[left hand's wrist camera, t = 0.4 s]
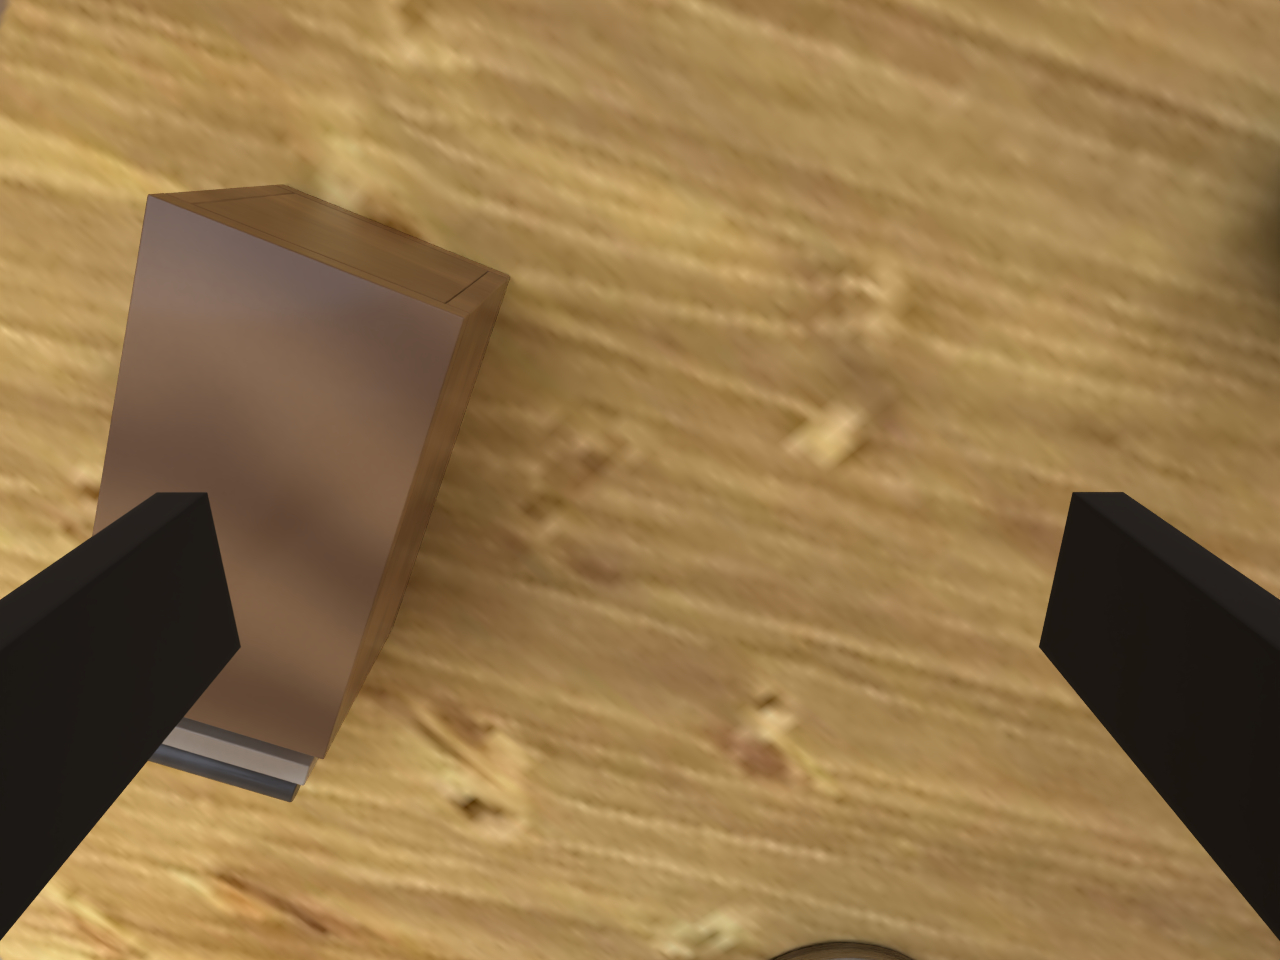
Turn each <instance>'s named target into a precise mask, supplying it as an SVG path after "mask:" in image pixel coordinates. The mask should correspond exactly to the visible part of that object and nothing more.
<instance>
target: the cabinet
mask: <svg viewBox="0 0 1280 960" xmlns="http://www.w3.org/2000/svg"><path fill="white" fill-rule="evenodd" d="M509 279H510V276H509V275H507V274H504V273H502V272H499V271H497V270H494V269H492V268H489V267H487V266H484V265H482V264H479V263H477V262H474V261H472V260H469V259H467V258H465V257H462V256H460V255H457V254H455V253H452V252H450V251H447V250H445V249H442V248H440V247H437V246H435V245H432V244H430V243H427V242H425V241H422V240H420V239H417V238H415V237H412V236H410V235H407V234H405V233H402V232H400V231H397V230H395V229H392V228H390V227H388V226H385V225H383V224H380V223H378V222H375V221H373V220H370V219H368V218H365V217H363V216H360V215H358V214H355V213H353V212H350V211H348V210H345V209H343V208H340V207H338V206H335V205H333V204H330V203H328V202H325V201H323V200H320V199H318V198H315V197H313V196H311V195H308V194H306V193H303V192H301V191H298V190H296V189H293V188H291V187H288V186H286V185H269V186H256V187H243V188H230V189H217V190H204V191H191V192H178V193H165V194H164V193H161V194H149V195H148V197H147V203H146V209H145V215H144V222H143V228H142V234H141V240H140V246H139V252H138V259H137V265H136V271H135V277H134V283H133V289H132V295H131V302H130V308H129V314H128V320H127V326H126V332H125V339H124V345H123V351H122V357H121V363H120V369H119V375H118V382H117V388H116V394H115V400H114V406H113V412H112V419H111V425H110V431H109V437H108V443H107V449H106V455H105V462H104V468H103V474H102V480H101V486H100V492H99V498H98V505H97V511H96V517H95V523H94V529H93V535H92V536H94V535H95V534H97V533H98V532H100V531H101V530H103V529H104V528H106V527H107V526H108V525H110V524H111V523H113V522H114V521H116V520H117V519H119V518H120V517H122V516H123V515H124V514H126V513H127V512H129V511H130V510H132V509H133V508H135V507H136V506H138V505H139V504H140V503H142V502H143V501H145V500H146V499H148V498H149V497H151V496H152V495H154V494H155V493H156V492H207V493H208V498H209V502H210V507H211V512H212V516H213V521H214V525H215V530H216V534H217V539H218V544H219V548H220V553H221V557H222V562H223V567H224V571H225V576H226V580H227V585H228V590H229V594H230V599H231V603H232V608H233V612H234V617H235V622H236V626H237V631H238V635H239V640H240V645H241V648H240V649H239V650H238V651H237V652H236V654H235V655H234V656H233V657H232V659H231V660H230V661H229V662H228V663H227V665H226V666H225V667H224V668H223V670H222V671H221V672H220V673H219V674H218V676H217V677H216V678H215V679H214V680H213V682H212V683H211V684H210V685H209V687H208V688H207V689H206V690H205V691H204V693H203V694H202V695H201V696H200V698H199V699H198V700H197V701H196V702H195V704H194V705H193V706H192V707H191V709H190V710H189V711H188V712H187V713H186V715H185V716H184V717H185V718H188V719H192V720H195V721H198V722H202V723H205V724H208V725H212V726H215V727H218V728H221V729H225V730H228V731H231V732H235V733H238V734H241V735H245V736H248V737H251V738H254V739H258V740H261V741H264V742H268V743H271V744H274V745H278V746H281V747H284V748H287V749H291V750H294V751H297V752H301V753H304V754H307V755H311V756H314V757H317V758H320V759H324V757H325V756H326V754H327V752H328V750H329V748H330V746H331V743H332V742H333V740H334V738H335V736H336V734H337V732H338V731H339V729H340V727H341V725H342V723H343V721H344V719H345V717H346V715H347V713H348V712H349V710H350V708H351V706H352V704H353V702H354V700H355V698H356V696H357V694H358V693H359V691H360V689H361V687H362V685H363V683H364V681H365V679H366V677H367V675H368V674H369V672H370V670H371V668H372V666H373V664H374V662H375V660H376V658H377V656H378V655H379V653H380V651H381V649H382V647H383V645H384V643H385V641H386V639H387V637H388V635H389V634H390V632H391V630H392V628H393V626H394V623H395V620H396V617H397V614H398V611H399V608H400V605H401V602H402V599H403V596H404V593H405V590H406V587H407V584H408V581H409V578H410V575H411V572H412V569H413V566H414V563H415V560H416V557H417V554H418V551H419V548H420V545H421V542H422V539H423V536H424V533H425V530H426V527H427V524H428V521H429V518H430V515H431V512H432V509H433V506H434V503H435V500H436V497H437V494H438V491H439V488H440V485H441V482H442V479H443V476H444V473H445V470H446V467H447V464H448V462H449V459H450V456H451V453H452V450H453V447H454V444H455V441H456V438H457V435H458V432H459V429H460V426H461V423H462V420H463V417H464V414H465V411H466V408H467V405H468V402H469V399H470V396H471V393H472V390H473V387H474V384H475V381H476V378H477V375H478V372H479V369H480V366H481V363H482V360H483V357H484V354H485V351H486V348H487V345H488V342H489V339H490V336H491V333H492V330H493V327H494V324H495V321H496V318H497V315H498V312H499V309H500V306H501V303H502V300H503V297H504V294H505V291H506V288H507V285H508V282H509Z"/></svg>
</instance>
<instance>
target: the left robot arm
mask: <svg viewBox="0 0 1280 960" xmlns="http://www.w3.org/2000/svg"><path fill="white" fill-rule="evenodd" d="M240 648H241V645H240V640H239V635H238V631H237V626H236V622H235V617H234V612H233V608H232V603H231V599H230V594H229V590H228V585H227V580H226V576H225V571H224V567H223V562H222V557H221V553H220V548H219V544H218V539H217V534H216V530H215V525H214V521H213V516H212V512H211V507H210V502H209V498H208V493H207V492H156V493H155V494H154V495H152V496H151V497H149V498H148V499H146V500H145V501H143V502H142V503H140V504H139V505H138V506H136V507H135V508H133V509H132V510H130V511H129V512H127V513H126V514H124V515H123V516H122V517H120V518H119V519H117V520H116V521H114V522H113V523H111V524H110V525H108V526H107V527H106V528H104V529H103V530H101V531H100V532H98V533H97V534H95V535H94V536H92V537H91V538H90V539H88V540H87V541H85V542H84V543H82V544H81V545H79V546H78V547H76V548H75V549H74V550H72V551H71V552H69V553H68V554H66V555H65V556H63V557H62V558H60V559H59V560H58V561H56V562H55V563H53V564H52V565H50V566H49V567H47V568H46V569H44V570H43V571H42V572H40V573H39V574H37V575H36V576H34V577H33V578H31V579H30V580H28V581H27V582H26V583H24V584H23V585H21V586H20V587H18V588H17V589H15V590H14V591H12V592H11V593H10V594H8V595H7V596H5V597H4V598H2V599H1V600H0V940H1V939H2V938H3V937H4V935H5V934H6V933H7V932H8V931H9V929H10V928H11V927H12V926H13V925H14V923H15V922H16V921H17V920H18V918H19V917H20V916H21V915H22V914H23V912H24V911H25V910H26V909H27V907H28V906H29V905H30V904H31V903H32V901H33V900H34V899H35V898H36V896H37V895H38V894H39V893H40V892H41V890H42V889H43V888H44V887H45V885H46V884H47V883H48V882H49V881H50V879H51V878H52V877H53V876H54V874H55V873H56V872H57V871H58V870H59V868H60V867H61V866H62V865H63V863H64V862H65V861H66V860H67V859H68V857H69V856H70V855H71V854H72V853H73V851H74V850H75V849H76V848H77V846H78V845H79V844H80V843H81V842H82V840H83V839H84V838H85V837H86V835H87V834H88V833H89V832H90V831H91V829H92V828H93V827H94V826H95V824H96V823H97V822H98V821H99V820H100V818H101V817H102V816H103V815H104V813H105V812H106V811H107V810H108V809H109V807H110V806H111V805H112V804H113V802H114V801H115V800H116V799H117V798H118V796H119V795H120V794H121V793H122V792H123V790H124V789H125V788H126V787H127V785H128V784H129V783H130V782H131V781H132V779H133V778H134V777H135V776H136V774H137V773H138V772H139V771H140V770H141V768H142V767H143V766H144V765H145V763H146V762H147V761H148V760H149V759H150V757H151V756H152V755H153V754H154V752H155V751H156V750H157V749H158V748H159V746H160V745H161V744H162V743H163V741H164V740H165V739H166V738H167V737H168V735H169V734H170V733H171V732H172V731H173V729H174V728H175V727H176V726H177V724H178V723H179V722H180V721H181V720H182V718H183V717H184V716H185V715H186V713H187V712H188V711H189V710H190V709H191V707H192V706H193V705H194V704H195V702H196V701H197V700H198V699H199V698H200V696H201V695H202V694H203V693H204V691H205V690H206V689H207V688H208V687H209V685H210V684H211V683H212V682H213V680H214V679H215V678H216V677H217V676H218V674H219V673H220V672H221V671H222V670H223V668H224V667H225V666H226V665H227V663H228V662H229V661H230V660H231V659H232V657H233V656H234V655H235V654H236V652H237V651H238V650H239V649H240ZM1039 648H1040V649H1041V650H1042V651H1043V652H1044V654H1045V655H1046V656H1047V657H1048V659H1049V660H1050V661H1051V662H1052V663H1053V665H1054V666H1055V667H1056V668H1057V670H1058V671H1059V672H1060V673H1061V674H1062V676H1063V677H1064V678H1065V679H1066V680H1067V682H1068V683H1069V684H1070V685H1071V687H1072V688H1073V689H1074V690H1075V691H1076V693H1077V694H1078V695H1079V696H1080V698H1081V699H1082V700H1083V701H1084V702H1085V704H1086V705H1087V706H1088V707H1089V709H1090V710H1091V711H1092V712H1093V713H1094V715H1095V716H1096V717H1097V718H1098V720H1099V721H1100V722H1101V723H1102V724H1103V726H1104V727H1105V728H1106V729H1107V731H1108V732H1109V733H1110V734H1111V735H1112V737H1113V738H1114V739H1115V740H1116V741H1117V743H1118V744H1119V745H1120V746H1121V748H1122V749H1123V750H1124V751H1125V752H1126V754H1127V755H1128V756H1129V757H1130V759H1131V760H1132V761H1133V762H1134V763H1135V765H1136V766H1137V767H1138V768H1139V770H1140V771H1141V772H1142V773H1143V774H1144V776H1145V777H1146V778H1147V779H1148V781H1149V782H1150V783H1151V784H1152V785H1153V787H1154V788H1155V789H1156V790H1157V792H1158V793H1159V794H1160V795H1161V796H1162V798H1163V799H1164V800H1165V801H1166V802H1167V804H1168V805H1169V806H1170V807H1171V809H1172V810H1173V811H1174V812H1175V813H1176V815H1177V816H1178V817H1179V818H1180V820H1181V821H1182V822H1183V823H1184V824H1185V826H1186V827H1187V828H1188V829H1189V831H1190V832H1191V833H1192V834H1193V835H1194V837H1195V838H1196V839H1197V840H1198V842H1199V843H1200V844H1201V845H1202V846H1203V848H1204V849H1205V850H1206V851H1207V853H1208V854H1209V855H1210V856H1211V857H1212V859H1213V860H1214V861H1215V862H1216V863H1217V865H1218V866H1219V867H1220V868H1221V870H1222V871H1223V872H1224V873H1225V874H1226V876H1227V877H1228V878H1229V879H1230V881H1231V882H1232V883H1233V884H1234V885H1235V887H1236V888H1237V889H1238V890H1239V892H1240V893H1241V894H1242V895H1243V896H1244V898H1245V899H1246V900H1247V901H1248V903H1249V904H1250V905H1251V906H1252V907H1253V909H1254V910H1255V911H1256V912H1257V914H1258V915H1259V916H1260V917H1261V918H1262V920H1263V921H1264V922H1265V923H1266V925H1267V926H1268V927H1269V928H1270V929H1271V931H1272V932H1273V933H1274V934H1275V935H1276V937H1277V938H1278V939H1279V940H1280V600H1279V599H1278V598H1276V597H1275V596H1273V595H1272V594H1270V593H1269V592H1268V591H1266V590H1265V589H1263V588H1262V587H1260V586H1259V585H1257V584H1256V583H1254V582H1253V581H1252V580H1250V579H1249V578H1247V577H1246V576H1244V575H1243V574H1241V573H1240V572H1238V571H1237V570H1236V569H1234V568H1233V567H1231V566H1230V565H1228V564H1227V563H1225V562H1224V561H1222V560H1221V559H1220V558H1218V557H1217V556H1215V555H1214V554H1212V553H1211V552H1209V551H1208V550H1206V549H1205V548H1204V547H1202V546H1201V545H1199V544H1198V543H1196V542H1195V541H1193V540H1192V539H1190V538H1189V537H1188V536H1186V535H1185V534H1183V533H1182V532H1180V531H1179V530H1177V529H1176V528H1174V527H1173V526H1172V525H1170V524H1169V523H1167V522H1166V521H1164V520H1163V519H1161V518H1160V517H1158V516H1157V515H1156V514H1154V513H1153V512H1151V511H1150V510H1148V509H1147V508H1145V507H1144V506H1142V505H1141V504H1140V503H1138V502H1137V501H1135V500H1134V499H1132V498H1131V497H1129V496H1128V495H1126V494H1125V493H1124V492H1073V493H1072V498H1071V502H1070V507H1069V512H1068V516H1067V521H1066V525H1065V530H1064V534H1063V539H1062V544H1061V548H1060V553H1059V557H1058V562H1057V567H1056V571H1055V576H1054V580H1053V585H1052V590H1051V594H1050V599H1049V603H1048V608H1047V612H1046V617H1045V622H1044V626H1043V631H1042V635H1041V640H1040V645H1039Z"/></svg>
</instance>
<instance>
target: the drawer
mask: <svg viewBox="0 0 1280 960" xmlns="http://www.w3.org/2000/svg"><path fill="white" fill-rule="evenodd" d="M317 760H318V758H317V757H314V756H311V755H307V754H304V753H301V752H297V751H294V750H291V749H287V748H284V747H281V746H278V745H274V744H271V743H268V742H264V741H261V740H258V739H254V738H251V737H248V736H245V735H241V734H238V733H235V732H231V731H228V730H225V729H221V728H218V727H215V726H212V725H208V724H205V723H202V722H198V721H195V720H192V719H188V718H185V717H183V718H182V720H181V721H180V722H179V723H178V724H177V726H176V727H175V728H174V729H173V731H172V732H171V733H170V734H169V735H168V737H167V738H166V739H165V740H164V741H163V743H162V744H161V745H160V746H159V748H158V749H157V750H156V751H155V752H154V754H153V755H152V756H151V757H150V759H149V760H148V761H151V762H154V763H158V764H161V765H165V766H168V767H171V768H175V769H178V770H182V771H185V772H188V773H192V774H195V775H199V776H202V777H205V778H209V779H212V780H216V781H219V782H222V783H226V784H229V785H233V786H236V787H240V788H243V789H246V790H250V791H253V792H257V793H260V794H263V795H267V796H270V797H274V798H277V799H280V800H284V801H287V802H292V801H293V800H294V798H295V796H296V794H297V792H298V790H299V788H300V786H301V785H304V784H305V783H306V781H307V779H308V777H309V775H310V773H311V771H312V770H313V768H314V766H315V764H316V762H317Z"/></svg>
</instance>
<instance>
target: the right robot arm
mask: <svg viewBox="0 0 1280 960" xmlns="http://www.w3.org/2000/svg"><path fill="white" fill-rule="evenodd" d="M774 960H912V959H910V958H908V957H906V956H904V955H902V954H900V953H898V952H895V951H892V950H889V949H886V948H882V947H878V946H873V945H867V944H858V943H832V944H823V945H817V946H811V947H807V948H803V949H800V950H796V951H793V952H790V953H788V954H785V955H783V956H780V957H778V958H776V959H774Z"/></svg>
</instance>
